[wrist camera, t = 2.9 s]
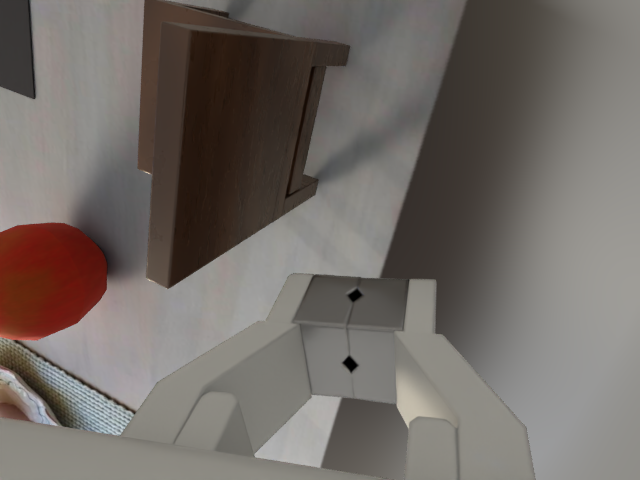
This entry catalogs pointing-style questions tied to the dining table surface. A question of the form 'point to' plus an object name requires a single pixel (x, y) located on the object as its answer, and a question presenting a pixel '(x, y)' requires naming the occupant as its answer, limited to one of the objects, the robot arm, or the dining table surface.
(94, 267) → the apple
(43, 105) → the dining table surface
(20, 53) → the pad
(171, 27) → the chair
